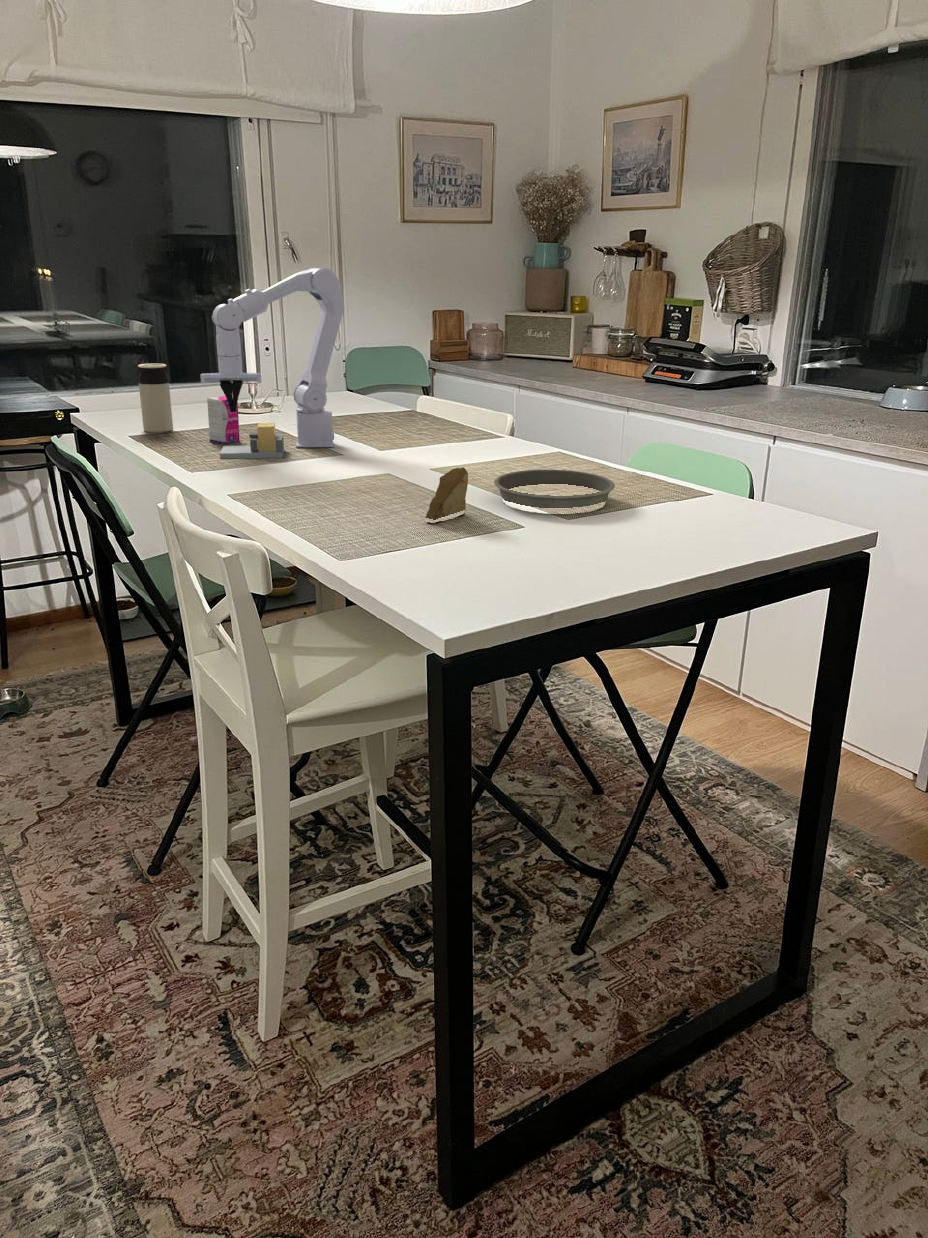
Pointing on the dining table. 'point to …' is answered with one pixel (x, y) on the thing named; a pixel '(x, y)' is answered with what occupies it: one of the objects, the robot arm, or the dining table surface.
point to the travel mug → (155, 398)
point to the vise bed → (247, 453)
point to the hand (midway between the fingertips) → (233, 411)
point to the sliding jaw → (254, 441)
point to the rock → (449, 494)
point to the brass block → (266, 436)
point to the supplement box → (222, 421)
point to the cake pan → (553, 477)
